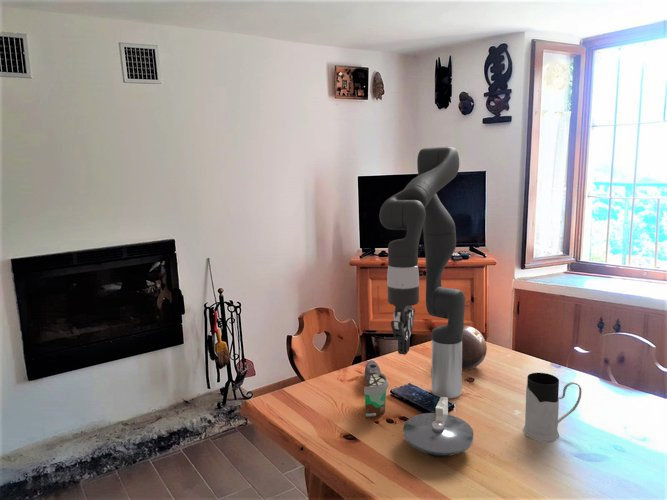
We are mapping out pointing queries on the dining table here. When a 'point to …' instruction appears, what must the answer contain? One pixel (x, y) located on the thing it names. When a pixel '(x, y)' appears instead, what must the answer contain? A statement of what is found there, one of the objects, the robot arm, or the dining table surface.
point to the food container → (375, 395)
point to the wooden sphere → (472, 348)
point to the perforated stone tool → (371, 369)
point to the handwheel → (438, 432)
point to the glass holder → (544, 406)
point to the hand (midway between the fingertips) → (403, 352)
